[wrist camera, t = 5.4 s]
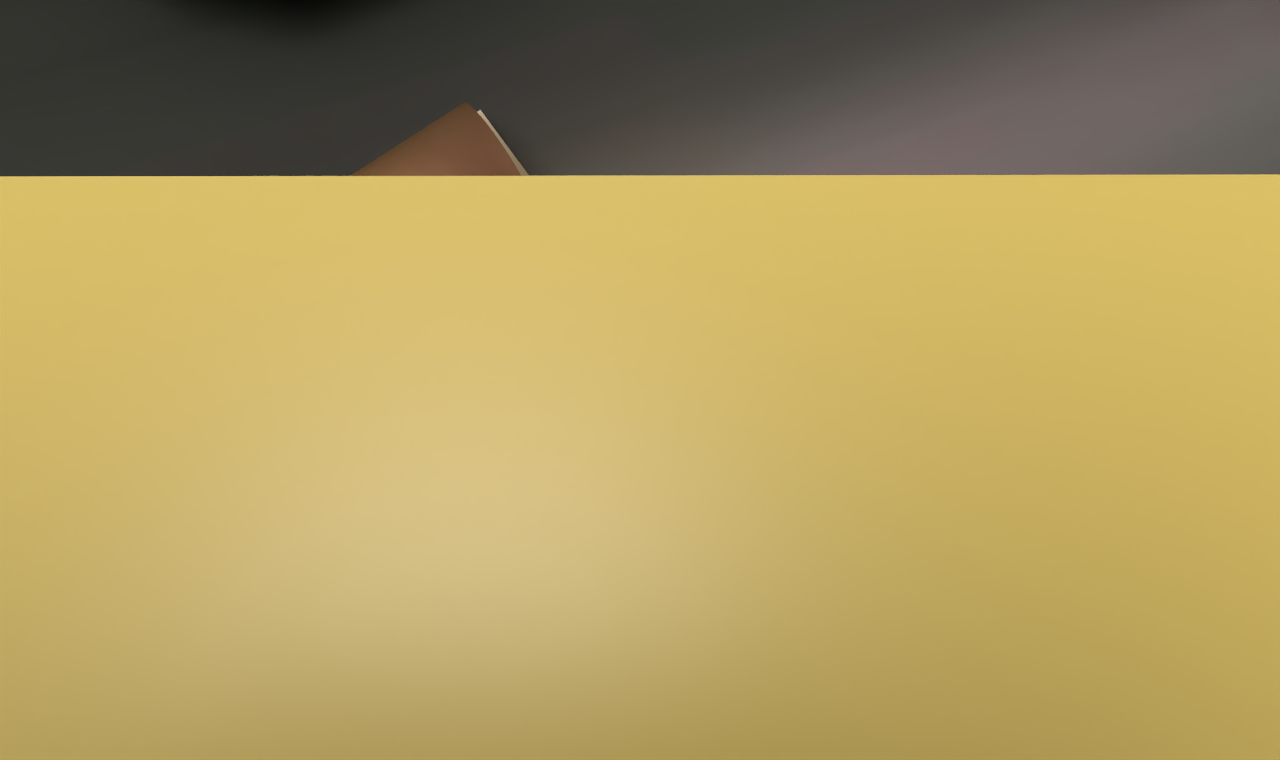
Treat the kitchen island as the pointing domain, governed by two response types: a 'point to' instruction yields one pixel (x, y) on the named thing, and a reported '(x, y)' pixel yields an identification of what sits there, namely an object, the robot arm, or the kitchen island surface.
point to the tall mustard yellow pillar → (640, 467)
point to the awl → (447, 150)
